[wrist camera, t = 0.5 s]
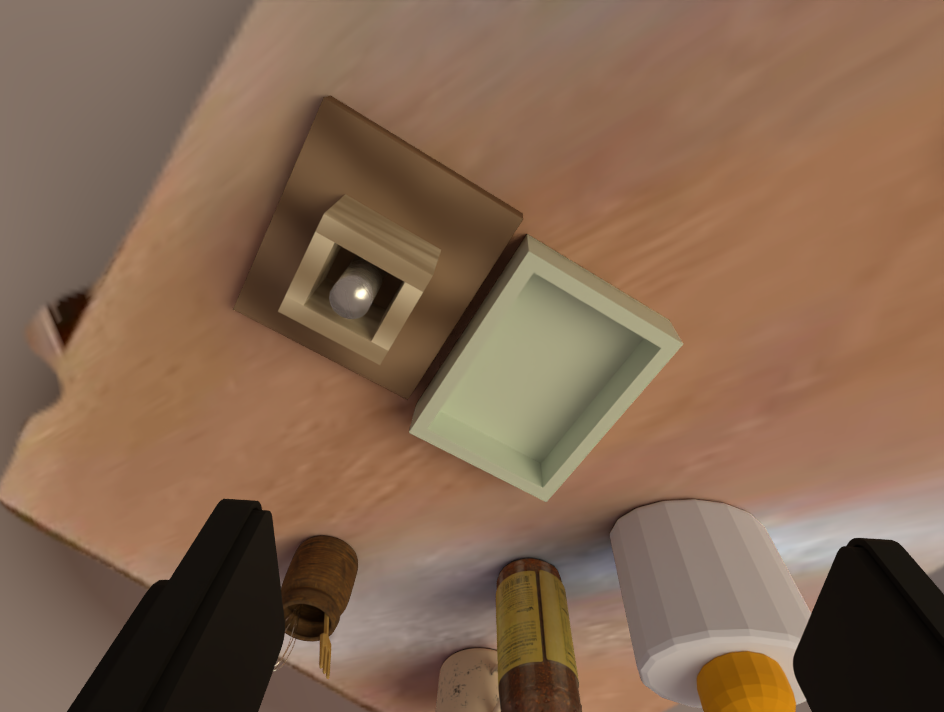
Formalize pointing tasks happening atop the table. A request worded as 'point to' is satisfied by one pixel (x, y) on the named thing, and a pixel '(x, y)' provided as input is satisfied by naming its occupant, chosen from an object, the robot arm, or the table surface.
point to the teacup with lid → (469, 682)
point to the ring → (376, 245)
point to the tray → (542, 371)
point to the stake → (356, 288)
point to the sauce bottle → (534, 640)
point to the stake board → (403, 202)
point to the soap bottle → (709, 606)
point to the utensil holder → (318, 592)
